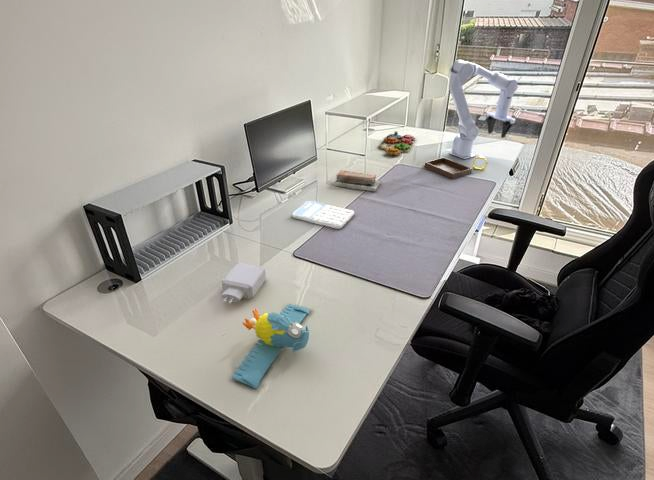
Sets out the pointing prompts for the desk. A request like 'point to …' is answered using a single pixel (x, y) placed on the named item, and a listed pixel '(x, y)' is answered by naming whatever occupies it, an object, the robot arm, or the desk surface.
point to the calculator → (323, 214)
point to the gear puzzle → (397, 143)
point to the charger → (242, 282)
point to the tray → (448, 167)
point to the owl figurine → (272, 341)
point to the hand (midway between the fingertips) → (496, 135)
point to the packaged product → (357, 180)
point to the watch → (480, 158)
